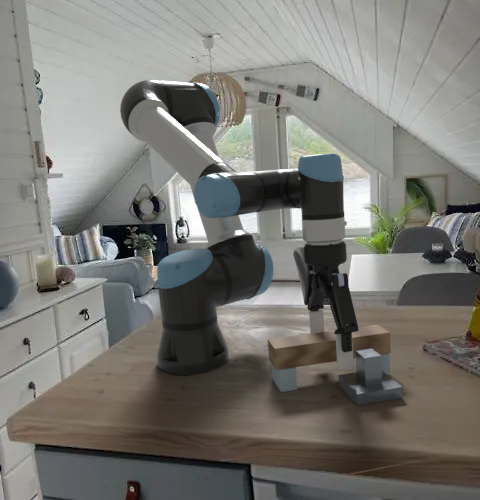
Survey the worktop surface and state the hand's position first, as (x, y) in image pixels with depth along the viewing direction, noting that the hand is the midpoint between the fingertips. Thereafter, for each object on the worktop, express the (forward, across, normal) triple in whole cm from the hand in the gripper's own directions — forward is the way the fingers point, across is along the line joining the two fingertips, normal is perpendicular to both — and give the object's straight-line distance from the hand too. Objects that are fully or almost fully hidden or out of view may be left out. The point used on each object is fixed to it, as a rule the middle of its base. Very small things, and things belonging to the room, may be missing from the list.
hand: (330, 354), depth 91 cm
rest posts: (+4, 0, 0) cm, 4 cm away
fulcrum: (+5, -8, -4) cm, 10 cm away
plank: (0, 0, 0) cm, 1 cm away
